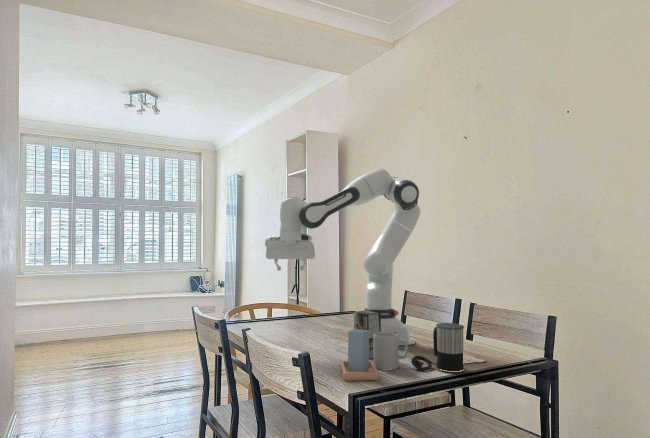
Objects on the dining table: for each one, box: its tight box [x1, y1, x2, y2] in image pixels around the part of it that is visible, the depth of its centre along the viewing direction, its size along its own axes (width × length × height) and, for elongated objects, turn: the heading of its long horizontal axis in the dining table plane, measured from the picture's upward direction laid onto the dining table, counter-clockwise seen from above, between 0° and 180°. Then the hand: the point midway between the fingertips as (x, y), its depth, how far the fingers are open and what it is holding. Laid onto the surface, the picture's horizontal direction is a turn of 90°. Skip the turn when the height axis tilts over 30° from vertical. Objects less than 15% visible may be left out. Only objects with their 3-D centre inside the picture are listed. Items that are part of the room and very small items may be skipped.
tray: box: [340, 360, 379, 382], centre depth 143 cm, size 11×14×2 cm
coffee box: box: [353, 310, 381, 359], centre depth 168 cm, size 9×6×16 cm
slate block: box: [347, 328, 370, 372], centre depth 143 cm, size 5×5×13 cm
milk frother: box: [411, 322, 465, 371], centre depth 150 cm, size 14×16×15 cm
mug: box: [372, 332, 409, 371], centre depth 152 cm, size 12×8×11 cm
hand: (290, 270), depth 182 cm, fingers open, 8 cm apart
